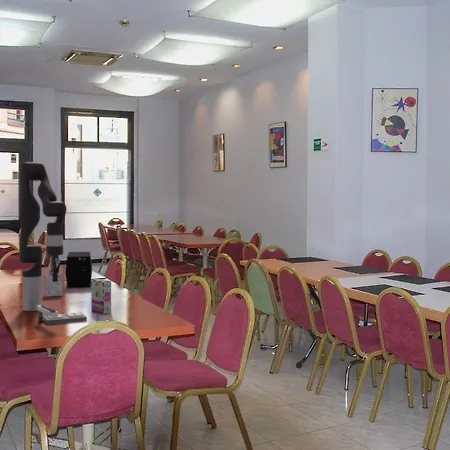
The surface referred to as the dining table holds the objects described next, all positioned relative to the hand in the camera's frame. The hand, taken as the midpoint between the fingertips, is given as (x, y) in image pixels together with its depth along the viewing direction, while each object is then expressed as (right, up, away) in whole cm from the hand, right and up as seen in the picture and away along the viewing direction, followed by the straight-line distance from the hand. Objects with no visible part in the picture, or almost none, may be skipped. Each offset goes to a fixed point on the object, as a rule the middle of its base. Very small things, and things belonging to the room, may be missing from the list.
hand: (55, 281), depth 277 cm
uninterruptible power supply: (-16, -13, +113) cm, 115 cm away
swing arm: (-1, -13, -11) cm, 17 cm away
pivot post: (-6, -19, -3) cm, 20 cm away
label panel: (+4, -18, +2) cm, 19 cm away
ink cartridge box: (-21, -15, +70) cm, 74 cm away
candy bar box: (+17, -18, +20) cm, 32 cm away
